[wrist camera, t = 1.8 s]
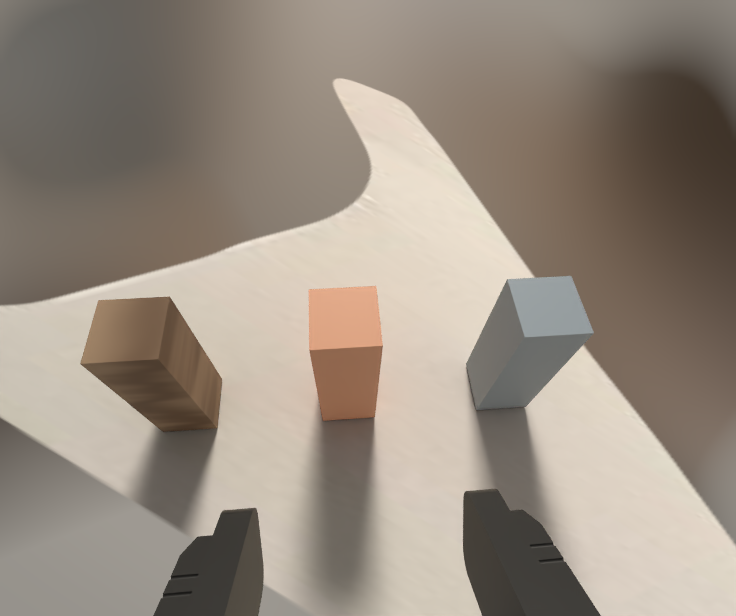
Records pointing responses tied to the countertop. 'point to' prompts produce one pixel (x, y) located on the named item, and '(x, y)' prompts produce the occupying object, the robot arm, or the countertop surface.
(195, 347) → the walnut pillar
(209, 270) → the countertop surface
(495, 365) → the slate pillar
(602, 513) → the countertop surface
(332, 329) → the terracotta pillar
